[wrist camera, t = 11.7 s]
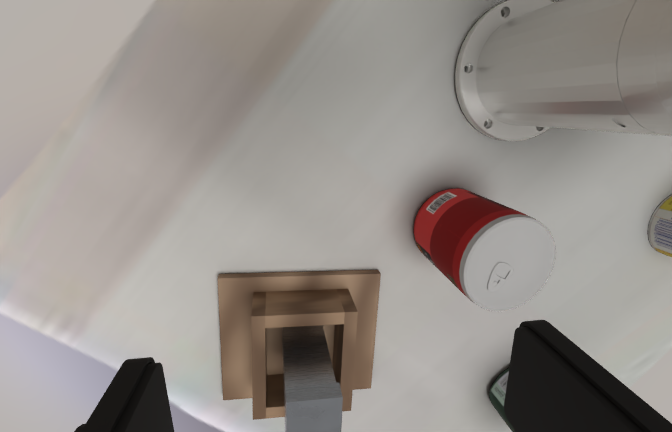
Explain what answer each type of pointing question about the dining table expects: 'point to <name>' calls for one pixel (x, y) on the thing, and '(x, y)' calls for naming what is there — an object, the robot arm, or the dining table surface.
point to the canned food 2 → (662, 228)
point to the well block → (291, 311)
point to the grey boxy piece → (309, 382)
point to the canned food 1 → (485, 248)
